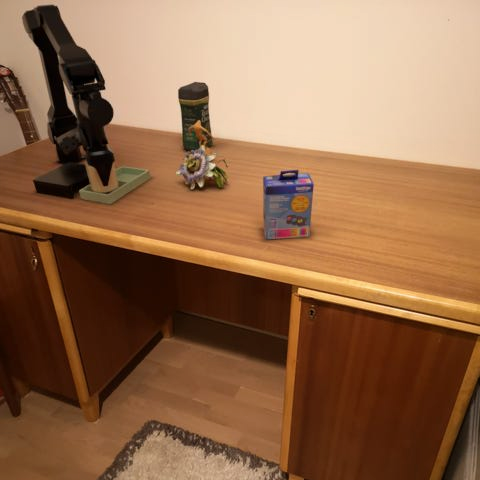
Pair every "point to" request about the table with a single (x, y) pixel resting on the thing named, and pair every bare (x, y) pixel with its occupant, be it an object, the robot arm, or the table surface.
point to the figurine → (201, 135)
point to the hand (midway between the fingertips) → (103, 180)
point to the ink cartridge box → (287, 205)
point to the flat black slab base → (61, 180)
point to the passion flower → (201, 168)
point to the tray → (127, 182)
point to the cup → (96, 181)
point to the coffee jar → (194, 113)
